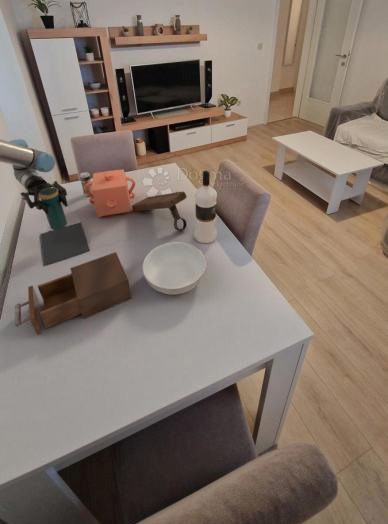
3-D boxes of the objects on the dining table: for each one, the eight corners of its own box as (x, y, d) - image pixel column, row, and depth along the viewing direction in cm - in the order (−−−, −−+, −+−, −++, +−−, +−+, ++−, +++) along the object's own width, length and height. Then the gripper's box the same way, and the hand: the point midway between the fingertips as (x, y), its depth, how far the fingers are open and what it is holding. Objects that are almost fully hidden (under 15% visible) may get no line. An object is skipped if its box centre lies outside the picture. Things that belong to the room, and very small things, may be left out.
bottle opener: (143, 235, 131) (181, 236, 108) (130, 205, 129) (166, 200, 106) (159, 224, 138) (198, 224, 115) (147, 196, 135) (185, 190, 112)
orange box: (141, 222, 121) (137, 187, 112) (87, 231, 116) (78, 196, 107) (136, 193, 142) (132, 162, 133) (90, 200, 137) (82, 168, 128)
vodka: (194, 229, 117) (193, 165, 102) (215, 229, 117) (218, 165, 102) (193, 244, 109) (193, 177, 94) (217, 244, 109) (220, 177, 94)
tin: (46, 228, 104) (34, 195, 97) (57, 218, 110) (47, 186, 102) (60, 231, 103) (48, 197, 95) (70, 221, 108) (61, 188, 100)
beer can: (82, 194, 142) (77, 174, 136) (90, 191, 145) (85, 170, 139) (88, 197, 139) (83, 176, 133) (95, 193, 143) (91, 173, 137)
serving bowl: (165, 248, 107) (164, 235, 103) (215, 267, 98) (215, 253, 95) (131, 288, 91) (129, 273, 88) (187, 314, 82) (186, 299, 79)
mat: (40, 234, 115) (40, 233, 115) (80, 223, 121) (80, 222, 121) (44, 266, 100) (43, 265, 99) (89, 250, 106) (89, 249, 106)
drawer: (19, 342, 75) (11, 327, 71) (19, 307, 84) (11, 292, 81) (87, 313, 82) (82, 298, 79) (80, 284, 91) (75, 269, 88)
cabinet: (83, 319, 81) (77, 300, 77) (76, 286, 92) (70, 268, 87) (131, 298, 88) (128, 279, 83) (119, 269, 98) (115, 251, 94)
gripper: (60, 183, 119) (84, 205, 105) (11, 200, 108) (31, 227, 94) (56, 168, 116) (80, 188, 101) (4, 184, 104) (24, 209, 90)
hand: (56, 206), depth 97 cm, fingers closed on tin, 6 cm apart
